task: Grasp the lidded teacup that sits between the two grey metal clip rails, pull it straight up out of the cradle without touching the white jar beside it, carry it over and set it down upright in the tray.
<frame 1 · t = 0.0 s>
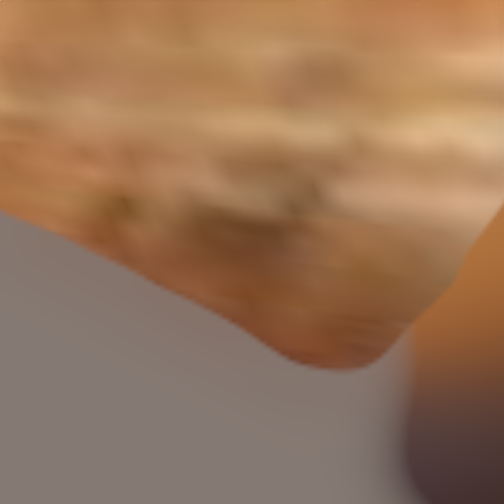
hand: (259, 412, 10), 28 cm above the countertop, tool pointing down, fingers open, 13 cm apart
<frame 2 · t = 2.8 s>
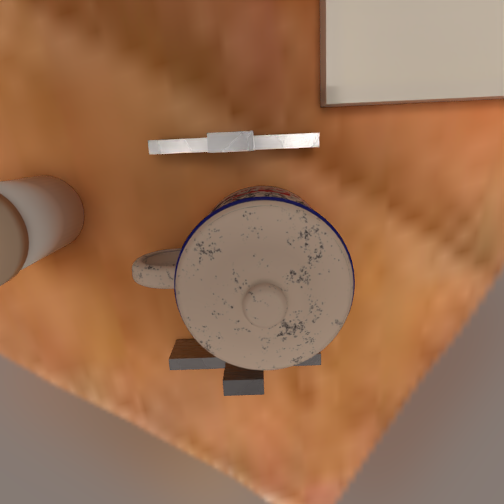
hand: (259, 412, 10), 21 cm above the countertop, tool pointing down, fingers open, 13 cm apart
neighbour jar: (47, 212, 30), on the countertop
teacup with lid: (241, 247, 31), on the countertop
clip cradle: (241, 248, 31), on the countertop
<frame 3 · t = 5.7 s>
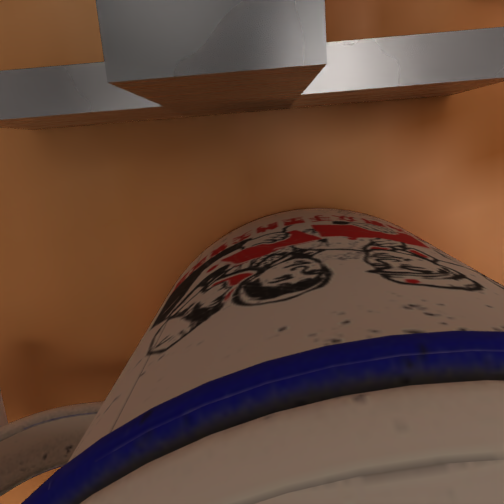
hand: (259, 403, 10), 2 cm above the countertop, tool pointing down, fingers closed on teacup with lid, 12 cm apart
teacup with lid: (259, 361, 12), on the countertop, touching gripper
clip cradle: (259, 365, 12), on the countertop
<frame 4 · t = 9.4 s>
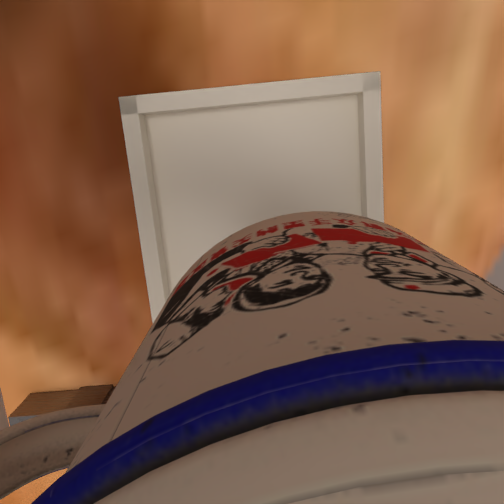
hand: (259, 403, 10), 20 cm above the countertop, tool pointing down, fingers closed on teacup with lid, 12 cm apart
teacup with lid: (259, 363, 12), point 18 cm above the countertop, touching gripper
tray: (261, 230, 30), on the countertop
clip cradle: (113, 474, 35), on the countertop
when the fingers open (4 cm above the countertop, at t = 13.0 s): teacup with lid drops 1 cm, resting on tray.
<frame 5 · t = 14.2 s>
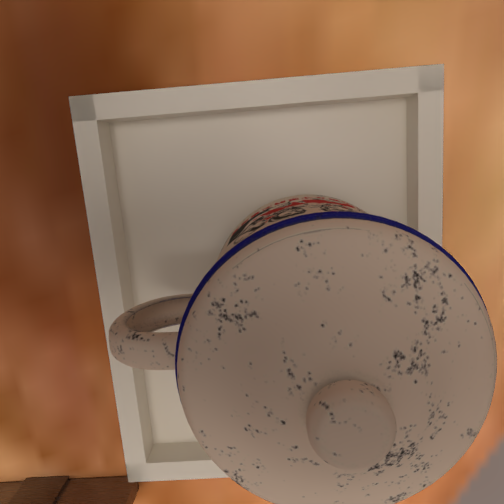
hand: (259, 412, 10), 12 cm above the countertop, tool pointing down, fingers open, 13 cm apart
teacup with lid: (274, 285, 21), point 1 cm above the countertop, touching tray
tray: (268, 280, 22), on the countertop
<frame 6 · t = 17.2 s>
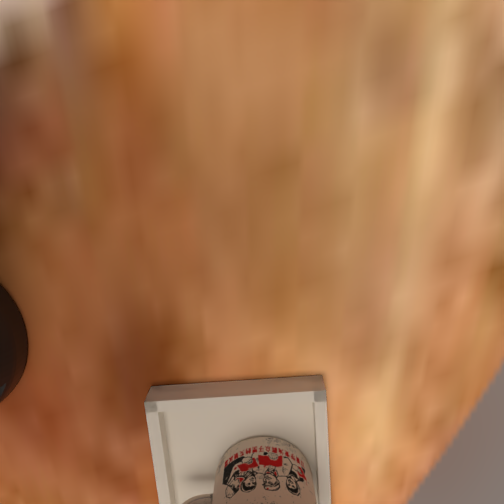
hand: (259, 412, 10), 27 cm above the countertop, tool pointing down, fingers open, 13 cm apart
teacup with lid: (247, 475, 41), point 1 cm above the countertop, touching tray
tray: (244, 469, 41), on the countertop
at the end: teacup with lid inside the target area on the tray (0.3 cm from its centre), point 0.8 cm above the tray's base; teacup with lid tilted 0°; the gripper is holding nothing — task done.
